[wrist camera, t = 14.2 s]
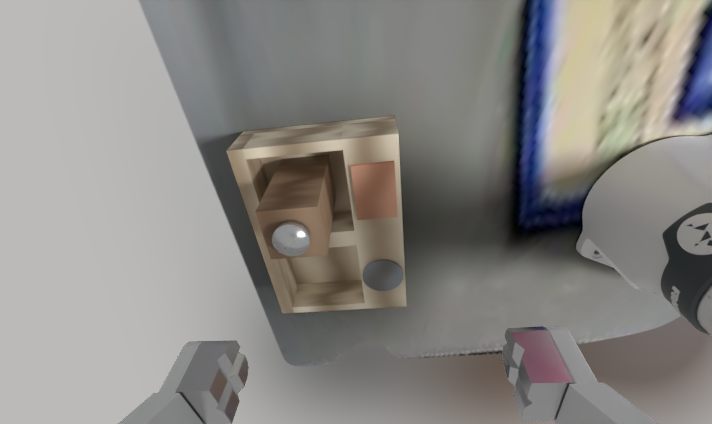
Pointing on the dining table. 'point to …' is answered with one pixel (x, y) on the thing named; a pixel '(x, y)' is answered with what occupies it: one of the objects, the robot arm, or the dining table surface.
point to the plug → (298, 208)
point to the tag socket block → (335, 213)
